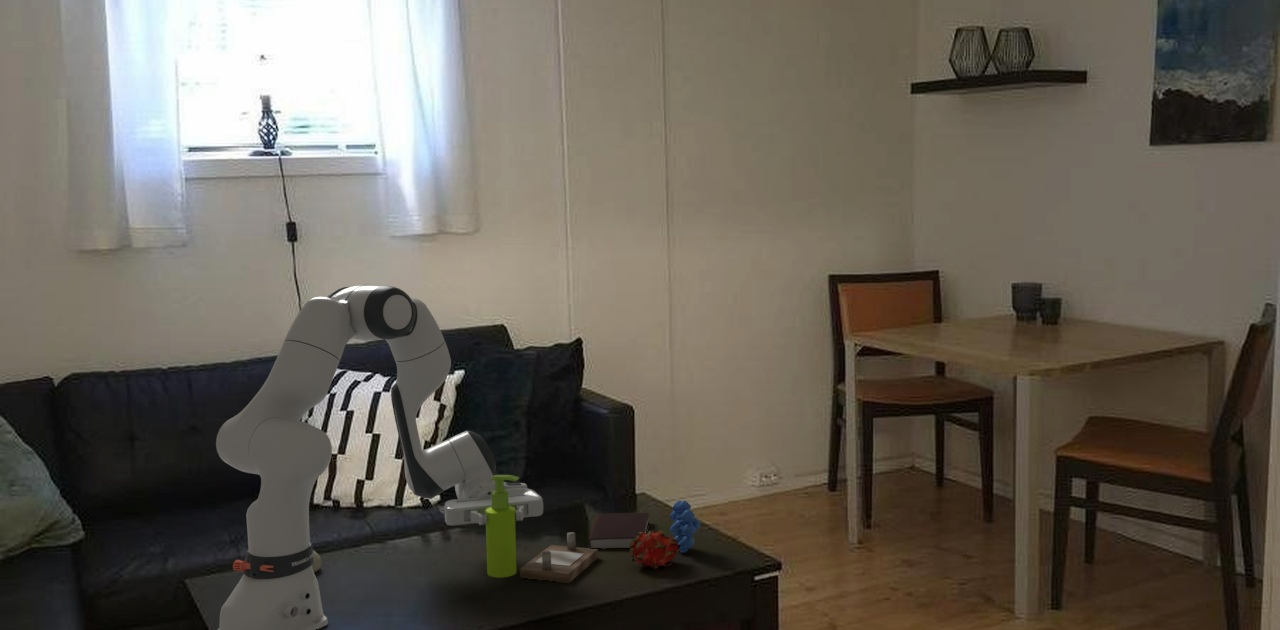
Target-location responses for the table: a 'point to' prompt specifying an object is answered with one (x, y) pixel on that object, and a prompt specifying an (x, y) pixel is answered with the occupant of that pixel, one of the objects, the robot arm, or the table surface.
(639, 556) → the dragon fruit
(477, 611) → the table surface
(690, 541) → the grapes
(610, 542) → the book
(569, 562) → the pin seat
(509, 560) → the soap dispenser
